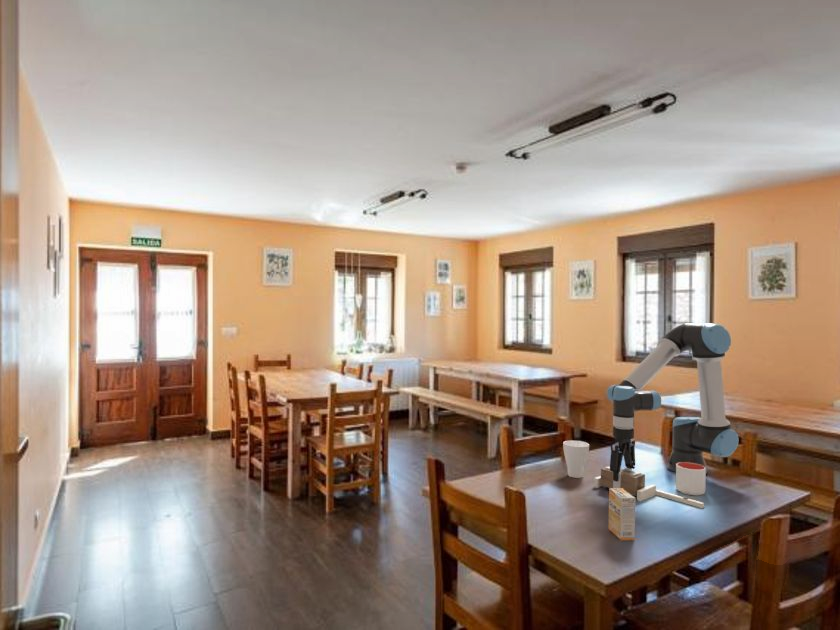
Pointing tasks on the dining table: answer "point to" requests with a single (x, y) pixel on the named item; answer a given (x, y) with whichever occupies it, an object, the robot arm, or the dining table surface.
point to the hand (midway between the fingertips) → (622, 487)
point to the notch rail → (652, 491)
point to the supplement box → (622, 513)
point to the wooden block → (624, 479)
